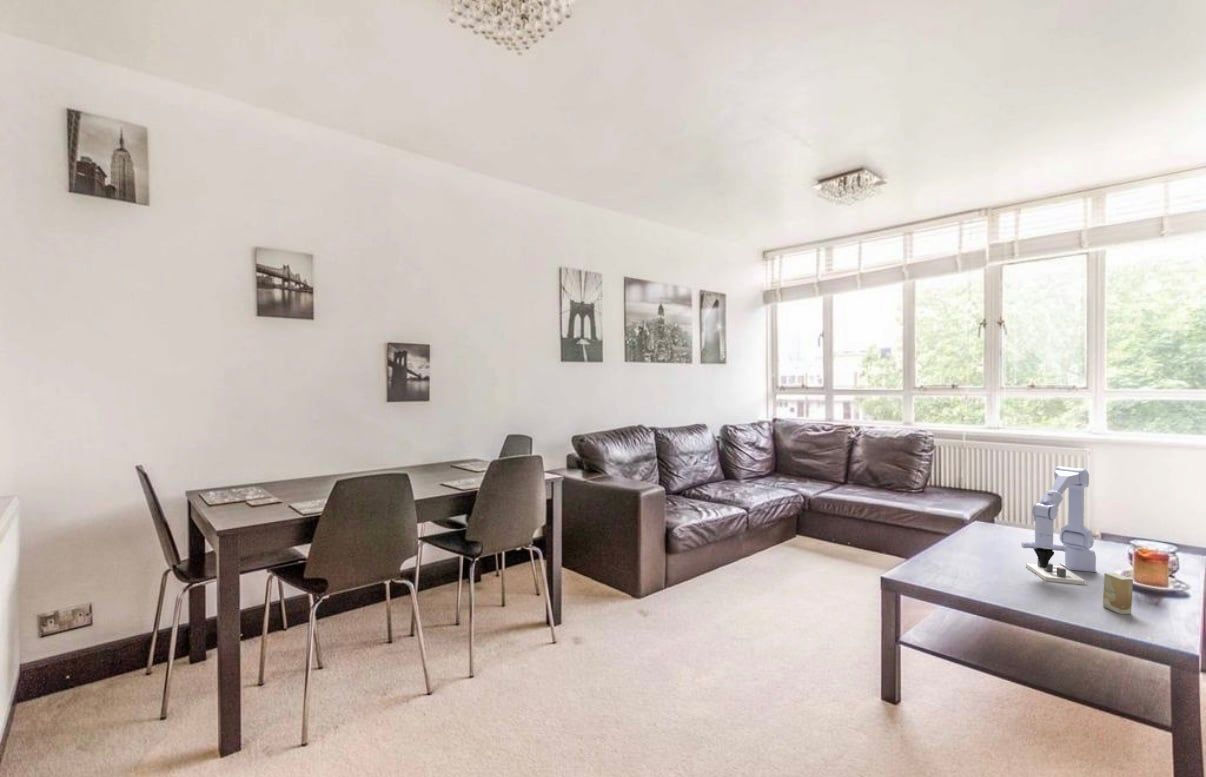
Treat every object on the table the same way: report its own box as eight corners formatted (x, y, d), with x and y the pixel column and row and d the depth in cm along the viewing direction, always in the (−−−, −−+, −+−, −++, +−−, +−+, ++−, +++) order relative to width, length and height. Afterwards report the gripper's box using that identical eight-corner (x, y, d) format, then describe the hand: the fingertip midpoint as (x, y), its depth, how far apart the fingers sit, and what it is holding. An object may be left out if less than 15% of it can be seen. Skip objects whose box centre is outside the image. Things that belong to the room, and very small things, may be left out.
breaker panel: (1062, 570, 226) (1062, 559, 226) (1085, 584, 210) (1085, 572, 210) (1025, 566, 230) (1026, 555, 230) (1045, 580, 213) (1045, 568, 213)
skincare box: (1102, 606, 189) (1102, 572, 188) (1113, 606, 189) (1114, 572, 189) (1121, 614, 182) (1121, 579, 182) (1132, 614, 183) (1133, 578, 182)
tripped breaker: (1062, 575, 215) (1062, 567, 215) (1065, 577, 213) (1066, 569, 213) (1056, 574, 216) (1056, 566, 216) (1059, 576, 213) (1059, 568, 213)
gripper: (1027, 534, 214) (1026, 568, 214) (1071, 538, 210) (1070, 572, 210) (1019, 530, 221) (1018, 562, 221) (1061, 533, 217) (1061, 566, 217)
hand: (1043, 567), depth 216 cm, fingers closed
